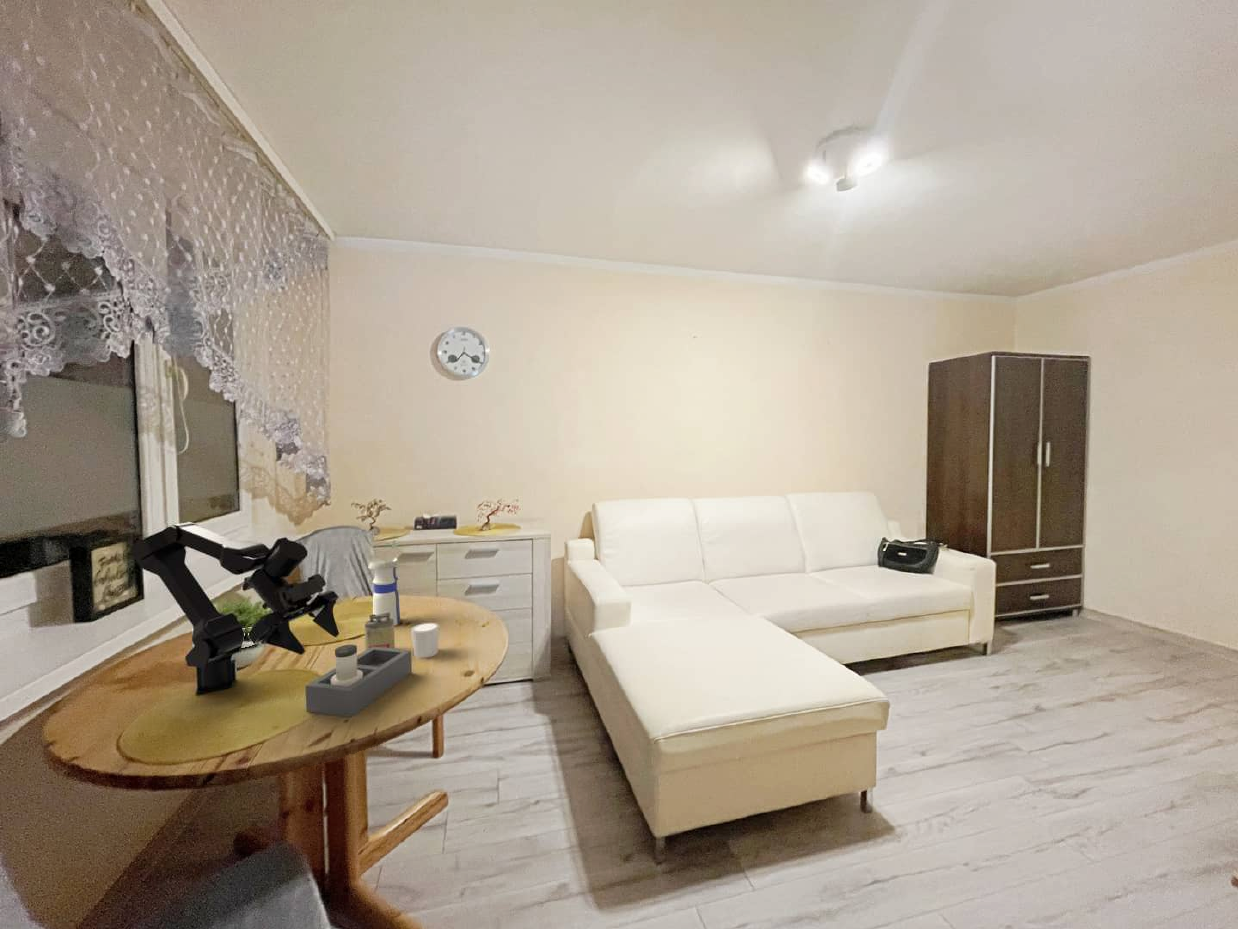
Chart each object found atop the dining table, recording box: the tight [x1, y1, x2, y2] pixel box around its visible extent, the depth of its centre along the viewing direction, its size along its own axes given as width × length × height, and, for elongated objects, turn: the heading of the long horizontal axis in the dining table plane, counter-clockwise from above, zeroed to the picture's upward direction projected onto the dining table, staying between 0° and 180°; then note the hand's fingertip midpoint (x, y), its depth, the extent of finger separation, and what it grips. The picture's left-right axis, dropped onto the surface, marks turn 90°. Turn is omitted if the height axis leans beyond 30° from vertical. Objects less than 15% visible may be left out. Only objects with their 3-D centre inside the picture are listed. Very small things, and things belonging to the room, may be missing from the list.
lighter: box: [364, 612, 396, 651], centre depth 132 cm, size 7×4×10 cm, turn 112°
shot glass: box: [410, 622, 440, 659], centre depth 130 cm, size 7×7×7 cm
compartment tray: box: [305, 647, 413, 718], centre depth 111 cm, size 20×11×6 cm, turn 167°
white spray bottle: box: [367, 539, 401, 627], centre depth 151 cm, size 8×9×25 cm
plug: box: [331, 644, 363, 687], centre depth 107 cm, size 6×6×9 cm
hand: (321, 644), depth 108 cm, fingers open, 9 cm apart
